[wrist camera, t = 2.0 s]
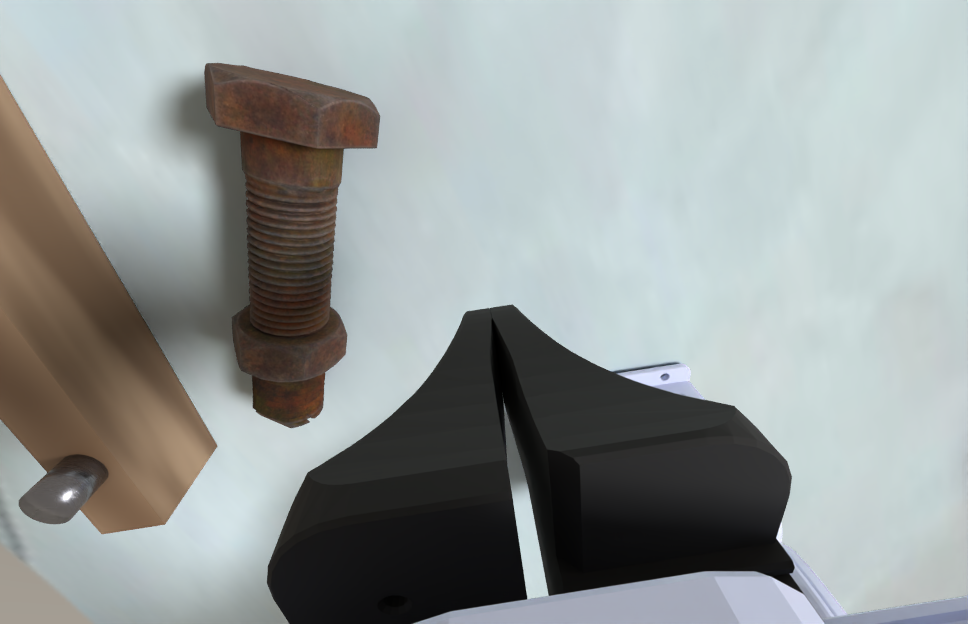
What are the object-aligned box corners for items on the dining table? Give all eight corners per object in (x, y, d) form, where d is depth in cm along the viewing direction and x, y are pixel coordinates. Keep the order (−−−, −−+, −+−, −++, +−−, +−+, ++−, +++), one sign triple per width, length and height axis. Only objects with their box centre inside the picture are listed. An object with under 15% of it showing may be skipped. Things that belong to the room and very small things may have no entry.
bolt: (297, 363, 24) (306, 77, 17) (366, 402, 23) (405, 106, 16) (198, 418, 19) (155, 49, 12) (277, 472, 18) (278, 89, 11)
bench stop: (-22, 37, 15) (-355, -7, 9) (217, 445, 24) (138, 564, 18) (-106, 50, 15) (-500, 14, 9) (166, 453, 24) (69, 575, 18)
